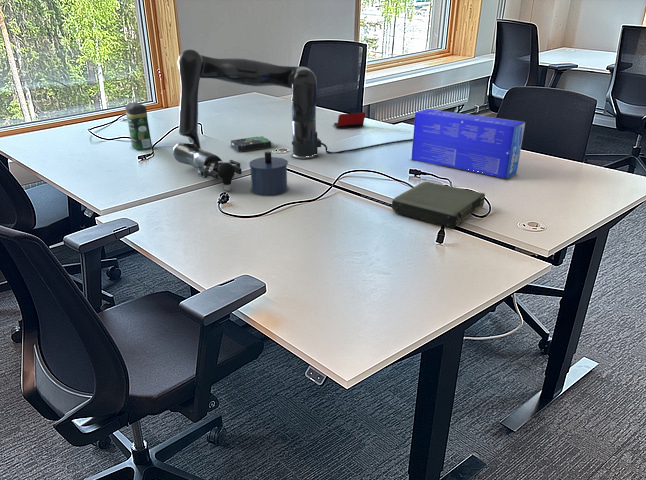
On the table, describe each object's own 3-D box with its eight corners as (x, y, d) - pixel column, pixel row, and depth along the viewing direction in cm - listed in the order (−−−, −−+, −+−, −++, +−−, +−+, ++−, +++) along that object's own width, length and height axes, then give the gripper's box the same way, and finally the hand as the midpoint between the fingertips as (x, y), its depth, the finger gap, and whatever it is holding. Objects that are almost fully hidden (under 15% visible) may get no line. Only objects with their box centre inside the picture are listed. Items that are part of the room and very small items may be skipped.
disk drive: (238, 153, 241) (271, 147, 245) (238, 146, 239) (271, 140, 244) (230, 146, 249) (262, 141, 254) (230, 140, 247) (262, 135, 252)
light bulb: (239, 189, 202) (236, 160, 197) (232, 194, 198) (229, 166, 193) (223, 187, 204) (221, 159, 199) (216, 193, 199) (213, 164, 194)
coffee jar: (129, 146, 254) (122, 102, 244) (146, 143, 257) (140, 100, 248) (136, 151, 246) (129, 106, 237) (154, 148, 250) (147, 103, 240)
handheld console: (359, 123, 277) (359, 107, 273) (365, 128, 268) (366, 112, 264) (333, 125, 275) (333, 109, 271) (338, 130, 266) (339, 114, 262)
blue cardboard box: (517, 174, 207) (526, 121, 198) (506, 180, 202) (515, 126, 192) (422, 155, 230) (426, 107, 221) (410, 160, 225) (414, 111, 216)
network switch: (462, 232, 166) (465, 215, 163) (386, 217, 177) (387, 201, 174) (486, 205, 183) (488, 190, 180) (415, 193, 194) (416, 178, 191)
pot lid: (282, 158, 203) (282, 145, 201) (291, 169, 193) (291, 155, 190) (246, 162, 201) (245, 149, 199) (253, 173, 190) (252, 159, 188)
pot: (282, 182, 207) (281, 157, 203) (290, 193, 197) (290, 167, 193) (249, 185, 205) (247, 160, 200) (256, 197, 195) (254, 171, 190)
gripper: (187, 156, 203) (209, 167, 191) (223, 148, 209) (246, 159, 198) (190, 177, 206) (211, 189, 195) (225, 169, 213) (248, 180, 201)
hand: (229, 174), depth 196 cm, fingers open, 8 cm apart
